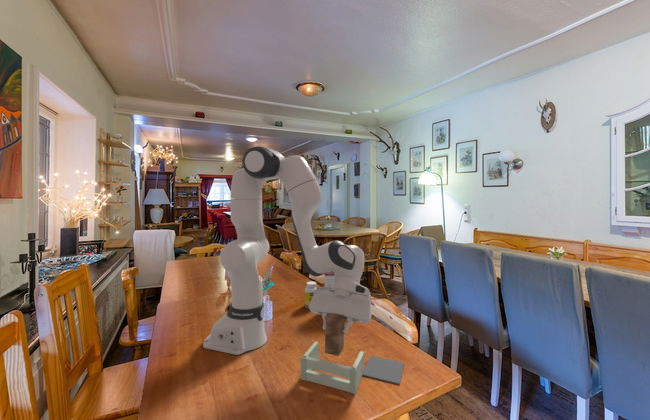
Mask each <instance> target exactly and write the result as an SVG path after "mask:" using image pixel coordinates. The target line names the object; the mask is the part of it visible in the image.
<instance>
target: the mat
mask: <svg viewBox="0 0 650 420" xmlns="http://www.w3.org/2000/svg"><path fill="white" fill-rule="evenodd" d="M368 358H369V359H368V361H367V363H366V365H365V366H364V372H363V376H362V377H366V378H371V379H375V380H379V381H381V382H382V381H383V382H387V383H391V384H393V385H394V384H395V385H398V386H399V385H401V380H402V377H403V369H404V366H405V362H403V361H402V362H401V361H397V360H393V359H388V358H384V357H379V356H374V355H370V356H369V357H368Z"/></svg>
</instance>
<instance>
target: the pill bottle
mask: <svg viewBox="0 0 650 420" xmlns="http://www.w3.org/2000/svg"><path fill="white" fill-rule="evenodd" d="M316 288H318V287H317V282H316V281H311V280H310V281H307V282H306V287H305V289H304V306H305V308H307V309H309V304H310V302H311V299H312V297H313V294H314V291H315V289H316Z"/></svg>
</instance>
